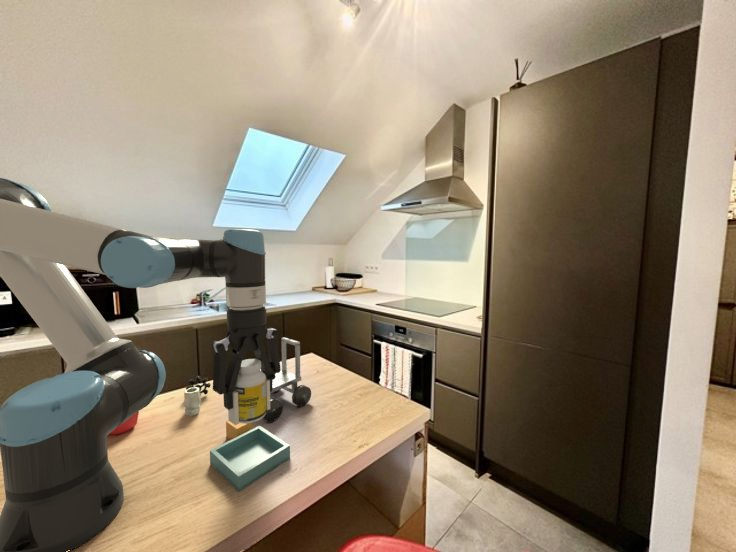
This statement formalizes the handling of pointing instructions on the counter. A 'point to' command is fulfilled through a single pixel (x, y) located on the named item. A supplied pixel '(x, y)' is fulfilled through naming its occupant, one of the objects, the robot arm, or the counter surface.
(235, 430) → the block
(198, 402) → the valve
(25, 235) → the robot arm
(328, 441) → the counter surface
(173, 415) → the counter surface
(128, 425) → the apple
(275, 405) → the trolley
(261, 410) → the pill bottle
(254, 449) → the tray
